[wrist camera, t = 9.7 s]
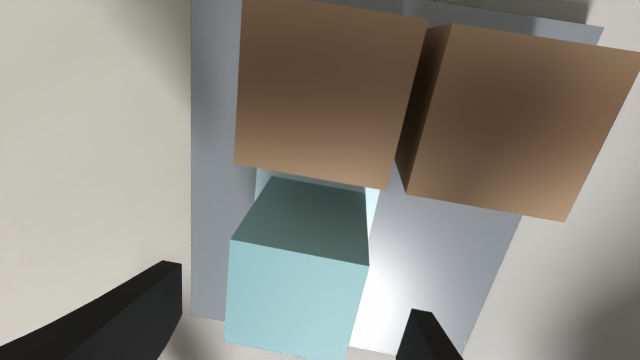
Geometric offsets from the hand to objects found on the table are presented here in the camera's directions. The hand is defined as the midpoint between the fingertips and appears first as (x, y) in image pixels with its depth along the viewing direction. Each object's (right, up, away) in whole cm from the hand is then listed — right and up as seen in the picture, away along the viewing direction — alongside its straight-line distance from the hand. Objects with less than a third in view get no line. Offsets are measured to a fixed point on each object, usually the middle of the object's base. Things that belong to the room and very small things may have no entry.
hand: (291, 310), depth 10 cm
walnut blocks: (+4, +7, +2) cm, 8 cm away
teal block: (+1, +2, +4) cm, 5 cm away
